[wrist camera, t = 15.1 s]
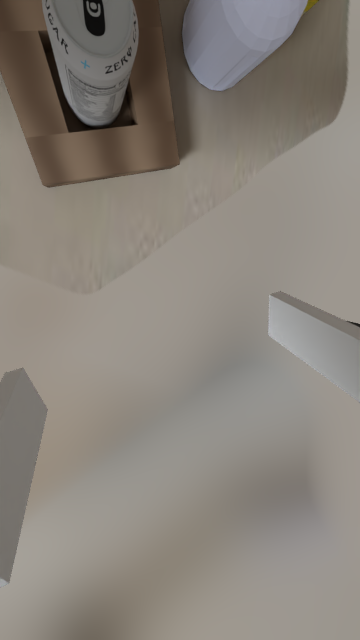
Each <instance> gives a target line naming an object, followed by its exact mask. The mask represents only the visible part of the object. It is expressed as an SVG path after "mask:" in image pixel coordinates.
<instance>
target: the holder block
mask: <svg viewBox="0 0 360 640" xmlns="http://www.w3.org/2000/svg"><path fill="white" fill-rule="evenodd" d="M132 1H133V4H134V7H135V11H136V15H137V20H138V30H139V36H138V47H137V52H136V56H135V60H134V63H133V67H132V70H131V74H130V77H129V81H128V84H127V88H126V91H125V95H124V98H123V102H122V106H121V109H120V112H119V115H118V117H117V119H116V120H115V121H114V122H113V123H112V124H111V125H109V126H108V127H105V128H93V127H90V126H88V125H86V124H84V123H83V122H81V121H80V120H79V119H78V118H77V117H76V116H75V115H74V113H73V112H72V111H71V109H70V107H69V106H68V104H67V101H66V98H65V95H64V91H63V87H62V84H61V80H60V76H59V72H58V68H57V64H56V61H55V57H54V53H53V49H52V45H51V41H50V37H49V34H48V30H47V26H46V22H45V18H44V13H43V8H42V0H0V71H1V74H2V77H3V79H4V82H5V85H6V87H7V90H8V93H9V95H10V98H11V101H12V103H13V106H14V109H15V111H16V114H17V117H18V120H19V122H20V125H21V128H22V130H23V133H24V136H25V138H26V141H27V144H28V146H29V149H30V152H31V155H32V157H33V160H34V163H35V165H36V168H37V171H38V173H39V176H40V179H41V181H42V184H43V185H44V186H46V187H55V186H62V185H68V184H75V183H81V182H87V181H94V180H100V179H107V178H113V177H119V176H126V175H132V174H139V173H145V172H151V171H158V170H164V169H171V168H173V167H175V166H177V165H179V164H180V162H179V154H178V147H177V139H176V131H175V124H174V116H173V109H172V101H171V94H170V86H169V78H168V71H167V63H166V56H165V48H164V40H163V33H162V25H161V18H160V10H159V3H158V0H132Z"/></svg>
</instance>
